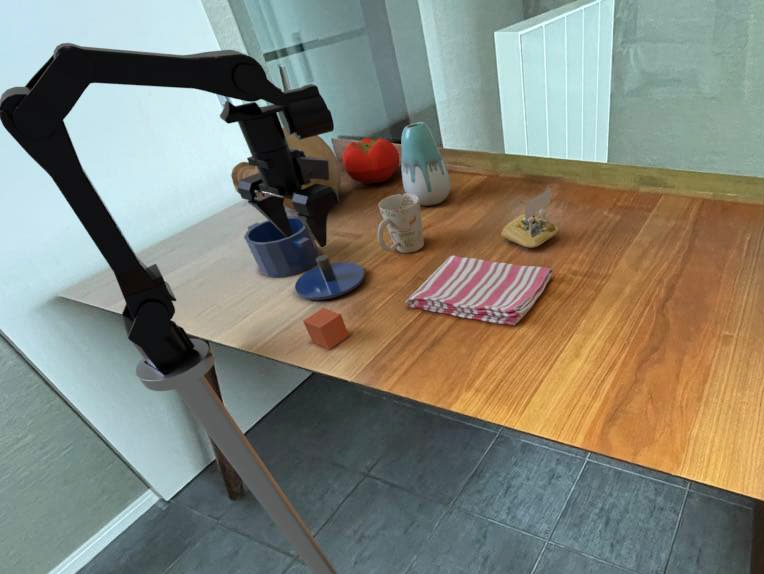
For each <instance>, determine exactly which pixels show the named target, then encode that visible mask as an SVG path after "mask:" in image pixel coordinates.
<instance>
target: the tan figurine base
mask: <svg viewBox="0 0 764 574" xmlns="http://www.w3.org/2000/svg"><path fill="white" fill-rule="evenodd" d="M551 195H552V187H551V186H550V187H548V188H547V189H546V190H544V191H543V192H542V193H540V194H538V195H536V196H535V197H534V198H532V199H530V201H528V202H526V203H525V204H524V213H523V214H521V215H520V216H518V217H516V218H514V219H513V220H511V221H510V222H508V223H507V224H505V226H504V227H503V228H502V230H501V232H500V237H502V238H504V239H507V240H509V241H510V242H513V243H515V244H517V245H519V246H521V247H524V248H531V249H534V248H537V247H539V246H540V245H542V244H544V243H545V242H546V241H548V240H550V239H552V238H553V237H554V236H555V235H557V234H558V232H559V227H558V226H557V225H556V224H554V222H551V221H550V220H547V219H546V214H548V209H545V207H547V206H548V205H549V204H550V203H551ZM565 202H567V200H565ZM537 213H538V214H539V215H538V216H536V214H537Z"/></svg>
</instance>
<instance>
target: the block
mask: <svg viewBox="0 0 764 574" xmlns="http://www.w3.org/2000/svg"><path fill="white" fill-rule="evenodd" d="M302 322H303V324H304V326H305V329H306V331H307V333H308V335H309V337H310V340H311V341H312V343H314V344H316V345H317V346H320V347H322V348H325V349H327V350H331V349H332V348H334V347H335V346H337V345H339V344H340V343H341V342H342V341H344V340H345V339H347V338H348V337H350V334H349V332H348V329H347V326H346V324H345V321H344V318H343V316H342V314H341V313H339V312H336V311H334V310H331V309H328V308H325V307H322V308H320V309H318V310H317V311H316V312H313V314H310V316H308V317H307V318H305V319H303V320H302Z"/></svg>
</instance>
